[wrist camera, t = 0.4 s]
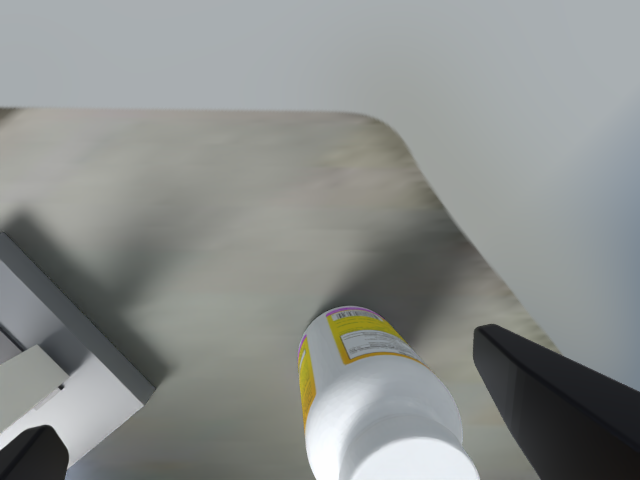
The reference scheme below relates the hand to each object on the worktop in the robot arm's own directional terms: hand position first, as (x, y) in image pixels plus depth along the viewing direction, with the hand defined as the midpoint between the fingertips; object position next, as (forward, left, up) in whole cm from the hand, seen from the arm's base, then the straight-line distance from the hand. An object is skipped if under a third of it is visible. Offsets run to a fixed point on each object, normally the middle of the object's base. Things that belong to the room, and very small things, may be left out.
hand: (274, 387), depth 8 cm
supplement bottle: (-2, -7, -16) cm, 18 cm away
